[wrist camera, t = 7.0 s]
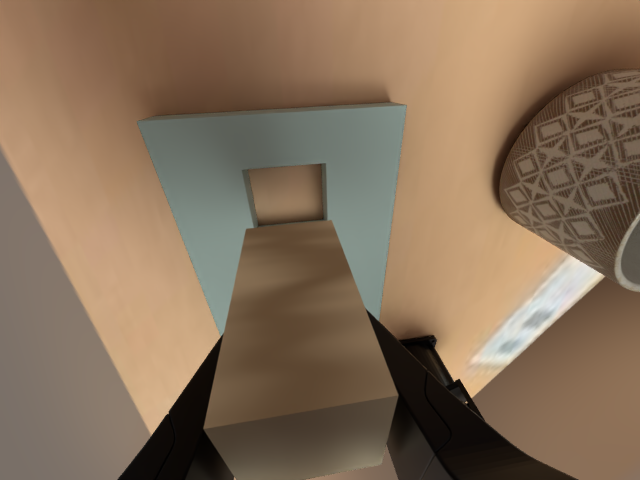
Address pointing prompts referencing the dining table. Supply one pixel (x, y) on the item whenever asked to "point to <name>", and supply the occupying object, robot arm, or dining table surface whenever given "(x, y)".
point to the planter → (583, 175)
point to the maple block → (298, 362)
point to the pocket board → (277, 151)
